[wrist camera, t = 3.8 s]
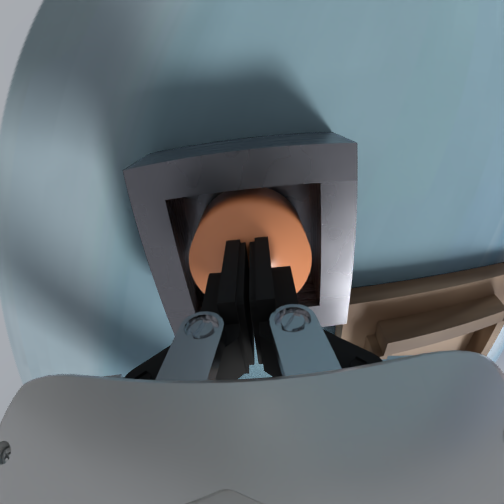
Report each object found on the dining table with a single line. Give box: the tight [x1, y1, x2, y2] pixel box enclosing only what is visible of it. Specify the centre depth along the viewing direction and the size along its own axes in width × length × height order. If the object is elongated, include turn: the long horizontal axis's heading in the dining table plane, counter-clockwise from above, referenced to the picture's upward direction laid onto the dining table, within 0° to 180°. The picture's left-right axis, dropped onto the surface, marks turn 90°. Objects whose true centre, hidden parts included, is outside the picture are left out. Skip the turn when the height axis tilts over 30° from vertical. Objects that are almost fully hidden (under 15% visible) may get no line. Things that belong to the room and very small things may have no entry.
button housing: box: [123, 132, 357, 335], centre depth 14 cm, size 9×9×4 cm
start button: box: [189, 187, 312, 294], centre depth 13 cm, size 5×5×3 cm
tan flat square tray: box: [335, 262, 504, 359], centre depth 19 cm, size 16×16×4 cm
